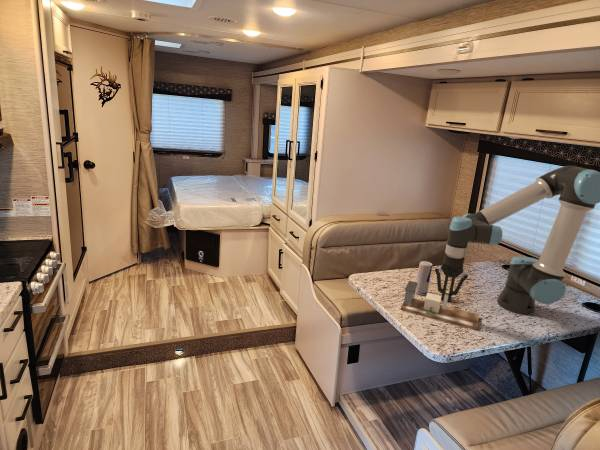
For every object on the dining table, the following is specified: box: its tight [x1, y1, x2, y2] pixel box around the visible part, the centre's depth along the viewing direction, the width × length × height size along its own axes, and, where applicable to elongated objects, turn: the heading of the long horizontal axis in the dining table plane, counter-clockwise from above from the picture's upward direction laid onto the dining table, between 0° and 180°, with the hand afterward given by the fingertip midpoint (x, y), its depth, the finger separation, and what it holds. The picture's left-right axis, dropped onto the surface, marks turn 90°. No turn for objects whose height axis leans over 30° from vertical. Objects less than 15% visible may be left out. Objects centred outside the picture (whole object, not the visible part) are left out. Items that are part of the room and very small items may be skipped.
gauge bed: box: [400, 297, 480, 331], centre depth 165 cm, size 30×12×2 cm, turn 65°
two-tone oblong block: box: [402, 280, 418, 307], centre depth 169 cm, size 4×10×8 cm, turn 155°
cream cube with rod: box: [424, 292, 442, 313], centre depth 164 cm, size 6×10×5 cm, turn 155°
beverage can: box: [415, 260, 433, 296], centre depth 181 cm, size 6×6×15 cm
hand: (444, 308), depth 164 cm, fingers closed
